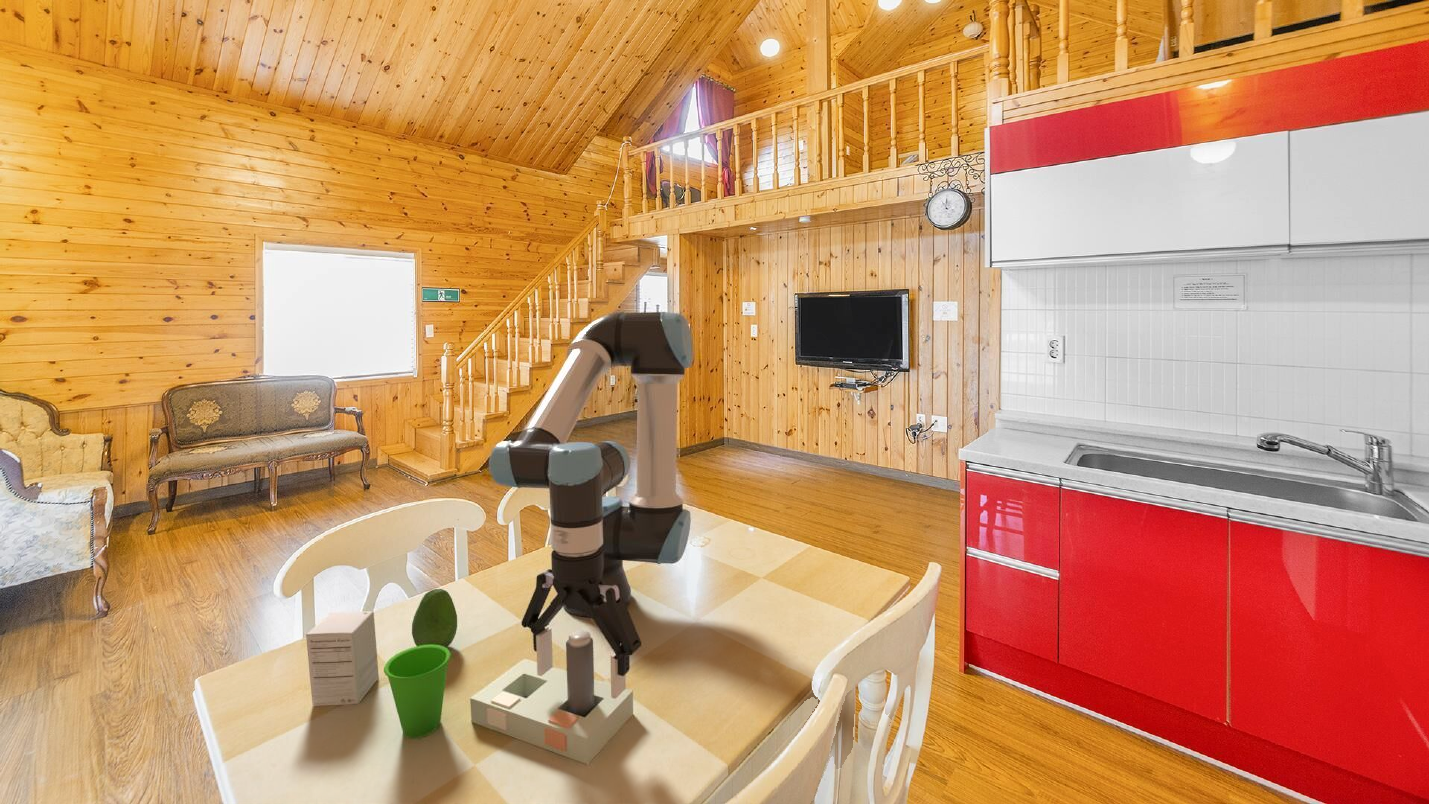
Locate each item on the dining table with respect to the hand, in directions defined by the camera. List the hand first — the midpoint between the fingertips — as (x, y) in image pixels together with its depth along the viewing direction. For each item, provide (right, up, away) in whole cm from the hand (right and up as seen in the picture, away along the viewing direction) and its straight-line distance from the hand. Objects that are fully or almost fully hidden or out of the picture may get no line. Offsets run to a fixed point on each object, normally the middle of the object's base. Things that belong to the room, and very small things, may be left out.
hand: (580, 682), depth 89 cm
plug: (0, -8, +1) cm, 8 cm away
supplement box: (-42, -6, +9) cm, 43 cm away
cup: (-25, -8, +1) cm, 26 cm away
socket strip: (-5, -7, +3) cm, 9 cm away
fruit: (-33, -5, +22) cm, 40 cm away
